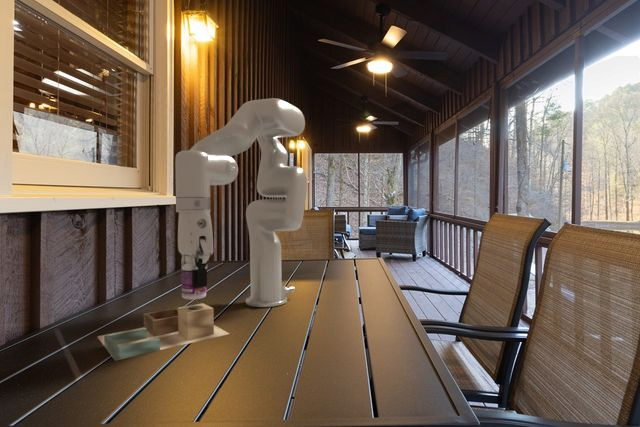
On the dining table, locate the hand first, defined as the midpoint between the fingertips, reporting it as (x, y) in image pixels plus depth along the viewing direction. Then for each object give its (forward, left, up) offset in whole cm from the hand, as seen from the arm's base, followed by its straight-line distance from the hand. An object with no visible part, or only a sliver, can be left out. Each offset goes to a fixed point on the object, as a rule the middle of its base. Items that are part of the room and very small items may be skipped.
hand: (194, 284), depth 92 cm
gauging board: (+6, -4, -12) cm, 14 cm away
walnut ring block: (+4, -9, -11) cm, 15 cm away
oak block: (0, 0, -11) cm, 11 cm away
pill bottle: (0, 0, -3) cm, 3 cm away
